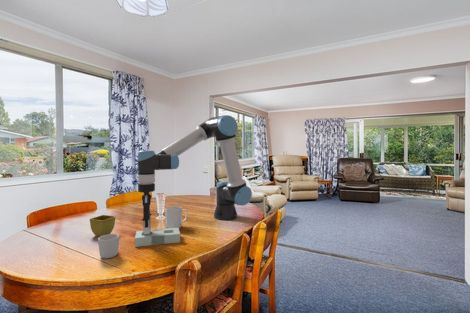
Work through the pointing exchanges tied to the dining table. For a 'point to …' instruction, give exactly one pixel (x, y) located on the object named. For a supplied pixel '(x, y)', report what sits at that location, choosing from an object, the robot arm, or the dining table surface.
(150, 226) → the peg
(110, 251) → the cup
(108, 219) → the flower pot
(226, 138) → the robot arm
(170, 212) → the mug
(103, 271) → the dining table surface
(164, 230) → the hole block
